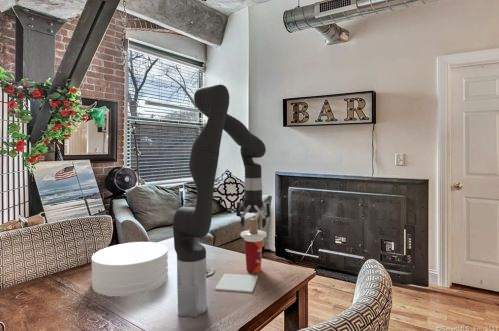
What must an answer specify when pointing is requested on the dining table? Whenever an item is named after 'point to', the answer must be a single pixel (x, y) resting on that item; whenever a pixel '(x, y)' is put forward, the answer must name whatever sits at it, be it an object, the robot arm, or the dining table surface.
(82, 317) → the dining table surface
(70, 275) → the dining table surface
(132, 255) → the plate stack
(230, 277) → the rubber mat
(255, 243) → the coffee cup
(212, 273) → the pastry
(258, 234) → the cup lid
